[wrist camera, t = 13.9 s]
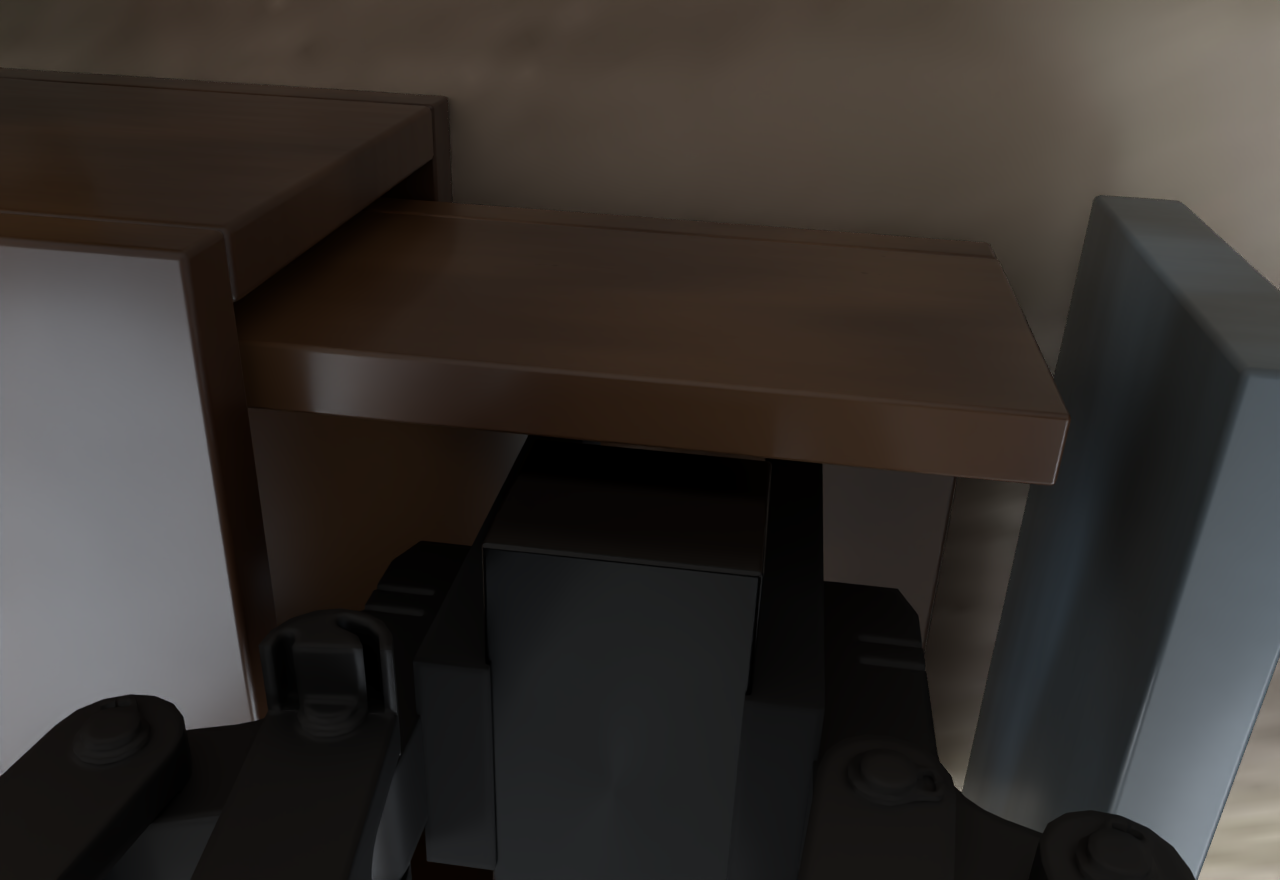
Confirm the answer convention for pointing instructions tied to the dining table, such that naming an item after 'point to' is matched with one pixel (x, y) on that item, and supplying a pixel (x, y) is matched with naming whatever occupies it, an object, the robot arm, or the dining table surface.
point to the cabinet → (156, 368)
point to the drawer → (829, 444)
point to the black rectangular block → (621, 659)
